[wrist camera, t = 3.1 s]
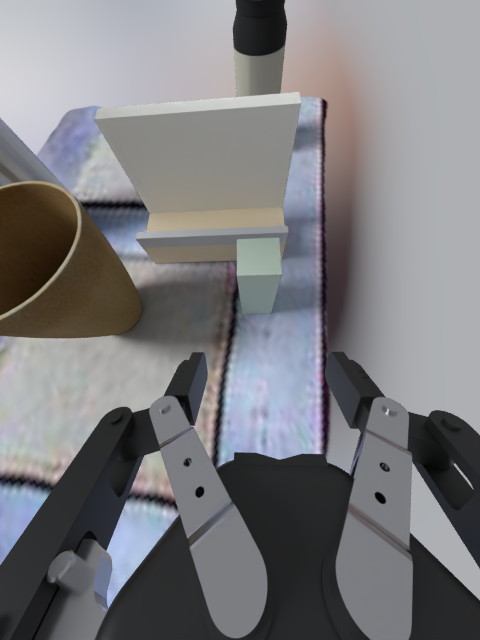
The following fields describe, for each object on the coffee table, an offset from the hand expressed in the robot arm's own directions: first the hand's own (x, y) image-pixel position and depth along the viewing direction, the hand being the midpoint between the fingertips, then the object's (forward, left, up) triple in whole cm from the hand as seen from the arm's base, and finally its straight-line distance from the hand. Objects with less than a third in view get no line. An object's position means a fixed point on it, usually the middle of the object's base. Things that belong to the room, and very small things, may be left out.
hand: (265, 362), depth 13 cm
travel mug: (+32, +37, -15) cm, 51 cm away
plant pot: (-11, +22, -15) cm, 28 cm away
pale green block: (+7, +9, -15) cm, 19 cm away
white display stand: (+10, +22, -15) cm, 28 cm away
